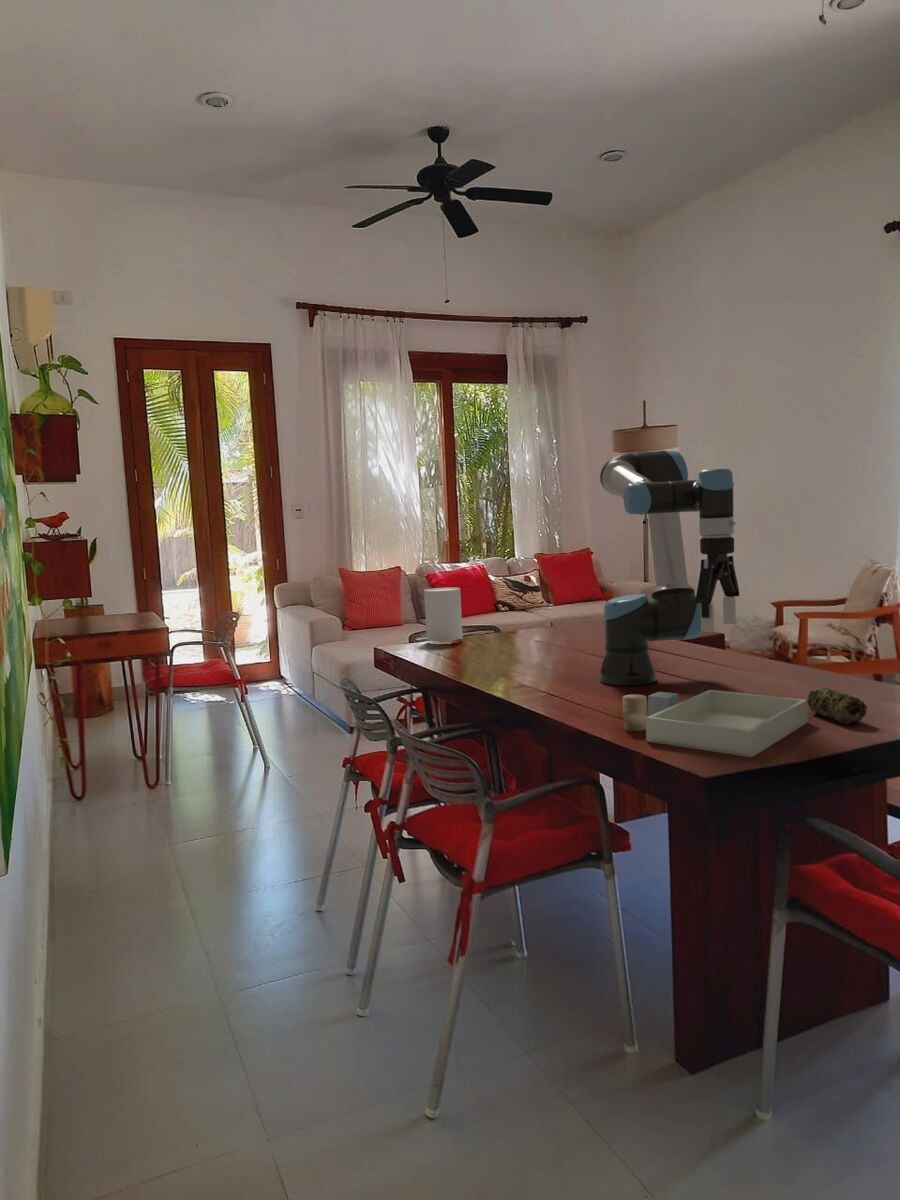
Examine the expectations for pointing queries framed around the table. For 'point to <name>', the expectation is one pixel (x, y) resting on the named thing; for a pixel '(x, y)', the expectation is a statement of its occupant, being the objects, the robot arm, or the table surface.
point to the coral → (836, 705)
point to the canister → (443, 614)
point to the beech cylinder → (634, 712)
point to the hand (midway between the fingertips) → (718, 628)
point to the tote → (727, 722)
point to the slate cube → (661, 701)
